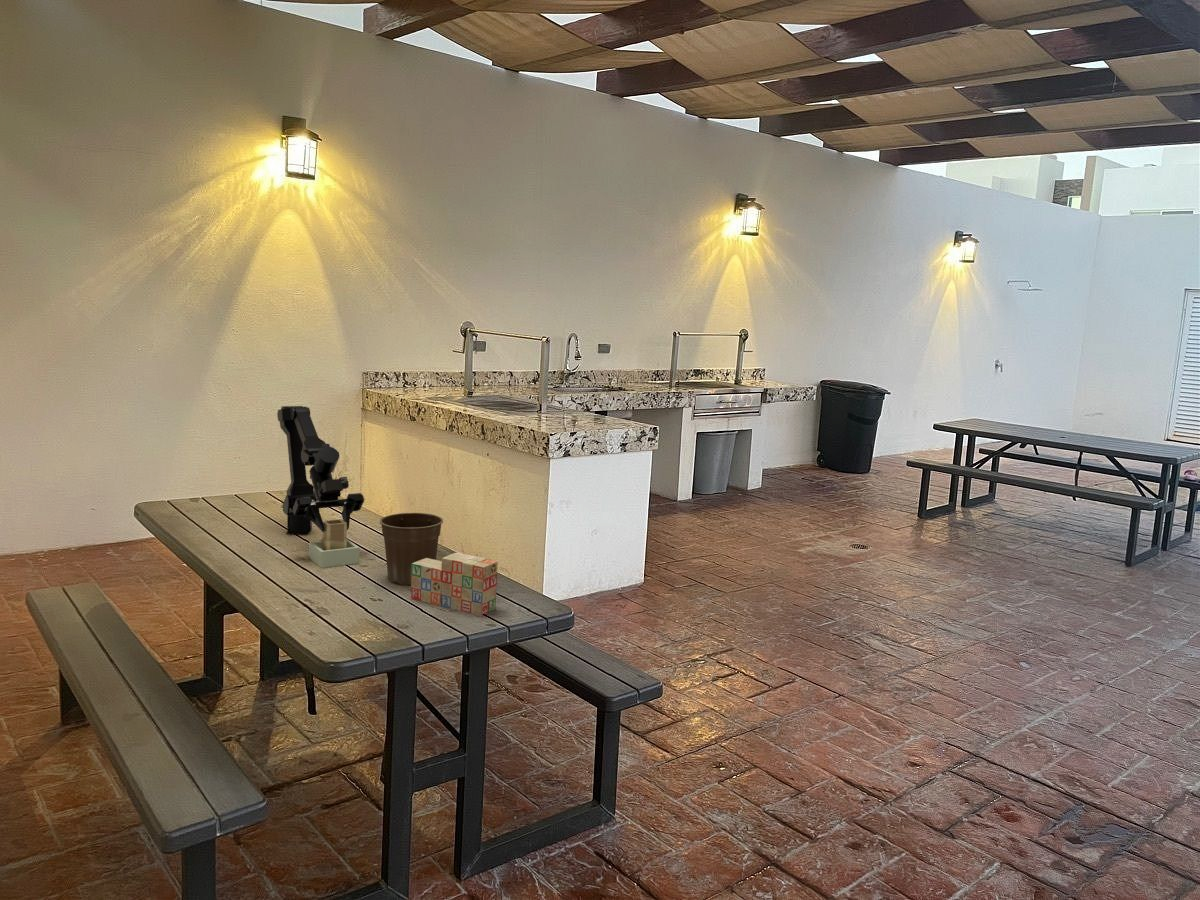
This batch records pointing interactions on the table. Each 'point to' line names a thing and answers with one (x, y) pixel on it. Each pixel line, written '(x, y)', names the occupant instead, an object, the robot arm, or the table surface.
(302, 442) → the robot arm
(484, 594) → the stack of blocks
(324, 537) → the pine crate
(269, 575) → the table surface
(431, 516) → the plant pot
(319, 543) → the sage crate
